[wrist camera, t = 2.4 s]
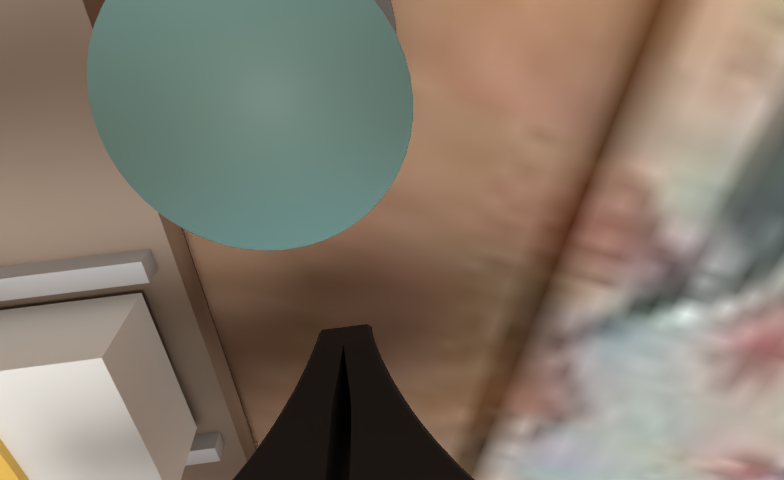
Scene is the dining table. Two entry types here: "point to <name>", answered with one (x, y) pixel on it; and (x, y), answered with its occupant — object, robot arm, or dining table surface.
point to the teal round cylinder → (252, 112)
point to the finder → (89, 394)
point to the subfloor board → (98, 221)
